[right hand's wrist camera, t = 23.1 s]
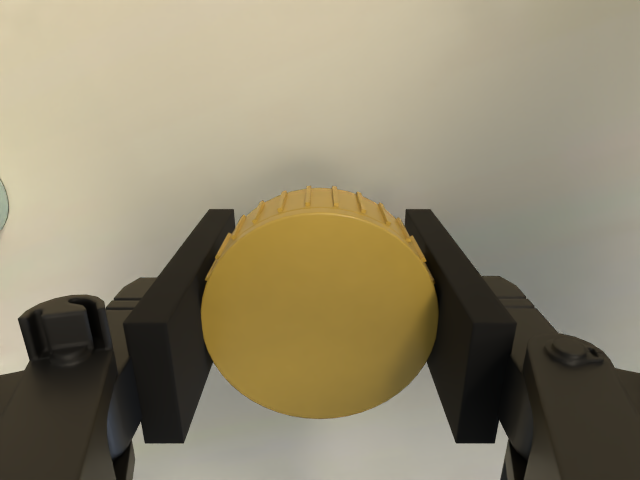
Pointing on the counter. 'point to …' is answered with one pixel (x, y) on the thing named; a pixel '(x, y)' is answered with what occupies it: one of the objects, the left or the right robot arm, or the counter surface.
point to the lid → (319, 305)
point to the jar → (3, 205)
